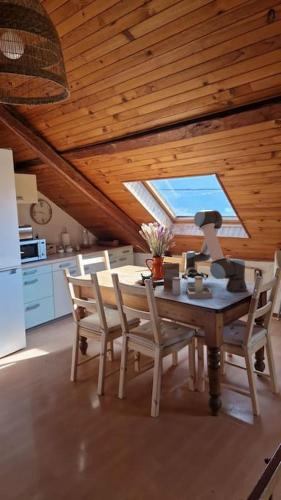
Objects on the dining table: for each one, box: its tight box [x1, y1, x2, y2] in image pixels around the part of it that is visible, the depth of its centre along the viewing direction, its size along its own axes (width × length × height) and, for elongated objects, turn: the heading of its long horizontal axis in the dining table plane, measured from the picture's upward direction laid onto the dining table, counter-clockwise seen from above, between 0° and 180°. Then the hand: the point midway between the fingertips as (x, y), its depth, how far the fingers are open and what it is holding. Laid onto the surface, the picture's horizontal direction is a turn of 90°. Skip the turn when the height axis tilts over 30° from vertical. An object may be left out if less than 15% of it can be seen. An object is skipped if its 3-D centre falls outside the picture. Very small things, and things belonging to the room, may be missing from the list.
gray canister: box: [171, 276, 182, 296], centre depth 253 cm, size 6×6×12 cm
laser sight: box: [140, 272, 157, 290], centre depth 280 cm, size 10×22×10 cm, turn 15°
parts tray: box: [185, 286, 213, 299], centre depth 251 cm, size 16×16×4 cm
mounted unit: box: [162, 262, 180, 292], centre depth 267 cm, size 8×12×20 cm, turn 90°
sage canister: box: [194, 276, 204, 293], centre depth 250 cm, size 6×6×12 cm
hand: (196, 278), depth 259 cm, fingers open, 13 cm apart
